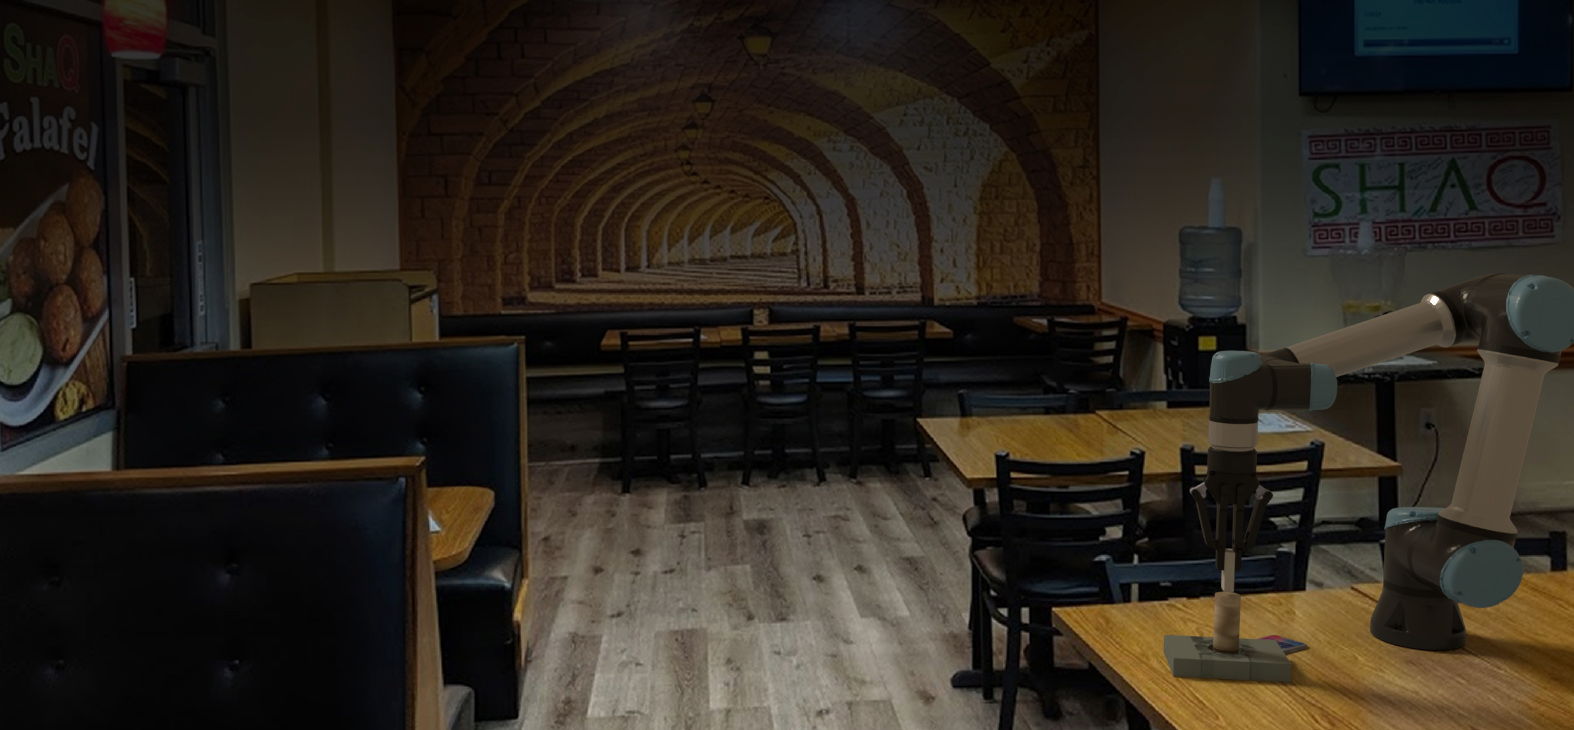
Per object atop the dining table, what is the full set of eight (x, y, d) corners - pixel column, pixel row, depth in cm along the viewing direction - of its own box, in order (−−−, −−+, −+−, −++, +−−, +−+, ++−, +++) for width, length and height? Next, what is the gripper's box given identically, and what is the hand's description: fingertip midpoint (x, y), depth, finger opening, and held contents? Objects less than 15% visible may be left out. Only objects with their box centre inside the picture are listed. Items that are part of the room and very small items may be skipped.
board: (1274, 657, 213) (1275, 639, 213) (1290, 682, 202) (1291, 663, 201) (1163, 651, 216) (1164, 634, 216) (1173, 676, 204) (1173, 658, 204)
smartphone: (1216, 648, 217) (1273, 633, 224) (1216, 653, 217) (1273, 638, 225) (1252, 659, 210) (1310, 644, 218) (1252, 665, 210) (1310, 649, 218)
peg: (1236, 663, 211) (1238, 592, 209) (1240, 671, 207) (1243, 599, 205) (1210, 661, 211) (1212, 591, 210) (1214, 669, 207) (1216, 597, 206)
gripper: (1269, 444, 208) (1264, 585, 210) (1187, 442, 210) (1182, 581, 212) (1279, 452, 200) (1274, 597, 203) (1194, 449, 202) (1189, 594, 205)
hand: (1227, 589), depth 208 cm, fingers closed
